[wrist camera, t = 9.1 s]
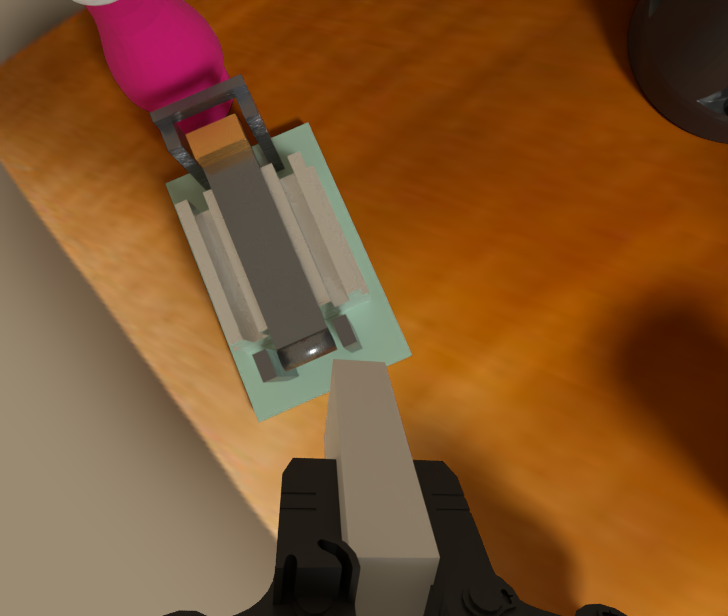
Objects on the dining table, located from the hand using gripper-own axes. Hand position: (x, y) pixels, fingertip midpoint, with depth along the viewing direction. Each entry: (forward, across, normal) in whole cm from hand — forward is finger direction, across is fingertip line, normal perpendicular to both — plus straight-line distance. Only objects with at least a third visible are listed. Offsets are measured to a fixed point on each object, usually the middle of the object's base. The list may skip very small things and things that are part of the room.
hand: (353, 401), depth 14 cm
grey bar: (+16, -4, 0) cm, 16 cm away
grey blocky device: (+21, -3, -2) cm, 21 cm away
